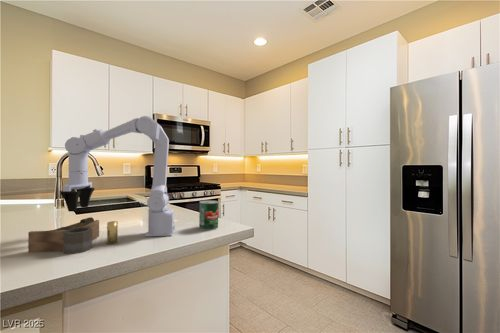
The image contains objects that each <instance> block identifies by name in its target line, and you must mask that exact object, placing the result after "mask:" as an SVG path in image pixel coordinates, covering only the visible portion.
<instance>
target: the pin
mask: <svg viewBox="0 0 500 333" xmlns="http://www.w3.org/2000/svg"><path fill="white" fill-rule="evenodd" d="M118 223H119V222H118V220H117V221H116V220H111V221H107V224H106V225H107V229H106V230H107V232H106V233H107V234H106V235H107V236H106V238H107V239H106V240H107V241H106V244H107V245H115V244H118V243H119V242H118V240H119V239H118V237H119V235H118V234H119V233H118V231H119V230H118V228H119V227H118Z"/></svg>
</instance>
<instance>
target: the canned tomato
mask: <svg viewBox="0 0 500 333" xmlns="http://www.w3.org/2000/svg"><path fill="white" fill-rule="evenodd" d="M198 207H199V216H198V217H199V228H198V229H199V230H202V231H213V230H216V229H217V230H218V228H219V201H218V200H214V199H213V200H211V199H209V200H207V199H206V200H200V201H199V206H198Z"/></svg>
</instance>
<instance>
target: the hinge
mask: <svg viewBox="0 0 500 333" xmlns="http://www.w3.org/2000/svg"><path fill="white" fill-rule="evenodd" d="M54 230H55V229H54ZM27 235H28V236H27V237H28V244H27V246H28V251H27V252H28V253H38V252H62V251H63V254H69V255H70V254H80V253H85V252H87V251H90V250H91V249H92V248H93V241H95V240H96V239H97V238H99V237H100V219H94V221H93V222H91V223H89V224H88V225H86V226H84V227H79V228H72V229H68V230H55V231H49V230H34V231H33V230H31V231H28V233H27Z"/></svg>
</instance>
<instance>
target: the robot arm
mask: <svg viewBox="0 0 500 333" xmlns="http://www.w3.org/2000/svg"><path fill="white" fill-rule="evenodd" d="M131 133H134V134H144V135H145V136H147V137H148V138H149V139H150V140H151V141H152V142H153V143H154V155H153V156H154V157H153V169H152V170H153V173H152V174H153V175H152V185H151V189H150V195H149V197H148V199H147V201H146V204H147V207H148V210H147V211H148V212H147V213H148V214H147V215H148V217H147V218H148V220H147V221H148V225H147V228H148V229H147V230H148V231H147V232H146V234H145V235H144V237H165V236H166V237H170V236H173V234H174V232H175V230H176V228H175V227H176V224H175V222H176V221H175V216H176V215H175V210H174V209H173V210H172V209H169V206H168V203H169V201H170V196H169V194H168V187H167V178H168V162H169V145H170V144H169V143H170V140H169V139H170V138H169V137H168V136H167V134H166V132H165V131H164V129H163V127H162V125H161V124H159V122H157V121H155V120H154V119H153V118H152V117H151V116H147V115H142V116H140V117H139V118H138V117H136V118H135V117H134V118H133V119H131V120H129V121H127V122H125V123H124V122H123V123H122V124H119V125H117V126H115V127H112V128H110V129H108V130H103V129H98V128H95V129H93V130H92V132H90V133H87V134H81V135H79V137H76V136H72V137H70V138H68V139H66V141H65V143H64V148H65V150H66V151H67V153H68V183H65V184H64V185H62V190H60V196H61V197H62V199H63V200H64V202H65V205H66V207H67V208H66V209H67V212H76V211H77V209H78V201H79V206H80V208H88V207H89V203H90V200H91V197H92V194H93V193H94V191H95V187H93V182H91V181H89V153H90V152H91V151H93V150H95V149H99V148H102V147H103V146H106V145H109V144H110V142H111V140H113V139H116V138H118V137H122V136H125V135H128V134H131Z"/></svg>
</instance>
